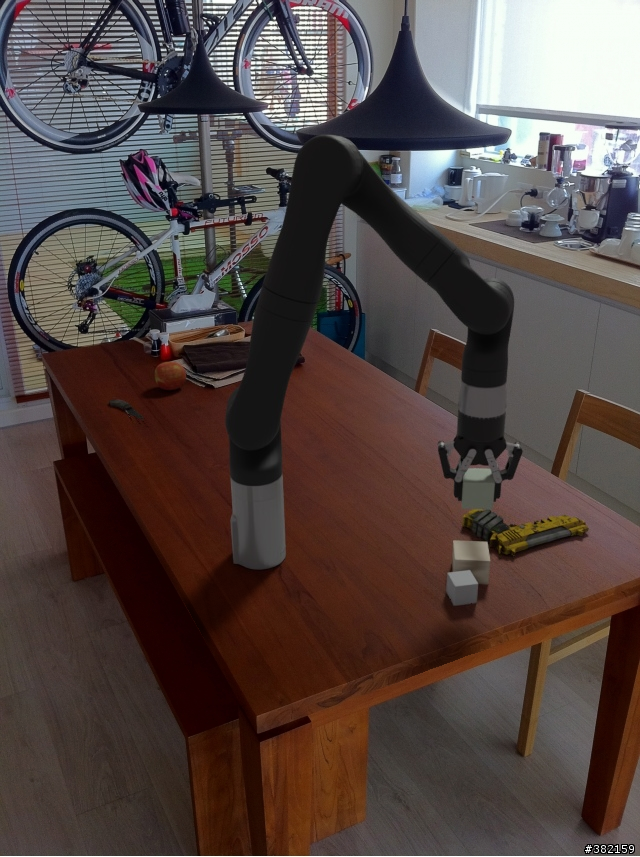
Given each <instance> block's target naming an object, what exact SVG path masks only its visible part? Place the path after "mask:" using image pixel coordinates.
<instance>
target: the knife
mask: <svg viewBox="0 0 640 857" xmlns="http://www.w3.org/2000/svg"><path fill="white" fill-rule="evenodd" d="M108 404H110V405H109V406H111V407H113V406H116V407H119V408H118V409H120V408H121V410H122V409H123V410H122V411H124V410H125V411H124V412H126V413H127V415H128V414H130V415H132V416H135V418H136V417H138V418H140V419H141V420H142V419H144V418H145V417H143V415H141V414H140V413H139V412H138V411H137V410H136V409H135V408H133V405H131V404H130V403H129V402H128V401H125V400H123V399H110V400H109V401H108ZM116 407H115V408H116Z"/></svg>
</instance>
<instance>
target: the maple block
mask: <svg viewBox="0 0 640 857" xmlns="http://www.w3.org/2000/svg"><path fill="white" fill-rule="evenodd" d="M452 541H453V542H452V556H451V558H452V559H451V568H452V570H451V572H457V571H466V570H470V571H471V573H472V574H473V576H474V578H475V579H476V581H477V582H478V585H489V580H490V569H491V557H490V551H489V549H490V548H489V544H488V541H481V540H480V541H478V540H477V541H475V540H452Z"/></svg>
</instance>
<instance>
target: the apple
mask: <svg viewBox="0 0 640 857" xmlns="http://www.w3.org/2000/svg"><path fill="white" fill-rule="evenodd" d="M154 380H155V382H156V384H157V385H156V386H158V387H159V388H160V389H162V390H165V391H175V390H177V389H178V390H179V389H180V388H181V387H182V386H184V384H185V383H186V381H187V372H186V369H185V368H184V366H182V365H181V364H180V363H178V362H176V361H164V362H161V363H160V364H158V365H157V366H156V368H155V370H154Z"/></svg>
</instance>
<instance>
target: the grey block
mask: <svg viewBox="0 0 640 857" xmlns="http://www.w3.org/2000/svg"><path fill="white" fill-rule="evenodd" d="M445 588H446V589H445V591H446V594H447V596H448V597H449V600H450V599H451V600H450V602H451V603H452V605H453V606H454V607H457V606H463V605H471V603H472V604H478V593H479V592H478V591H479V584H478V582H477V581H476V579H475V578H474V576H473V574H472V573H471V571H470V570H466V571H457V572H453V571H451V572H450V571H448V572H447V573H446V587H445Z"/></svg>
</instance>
